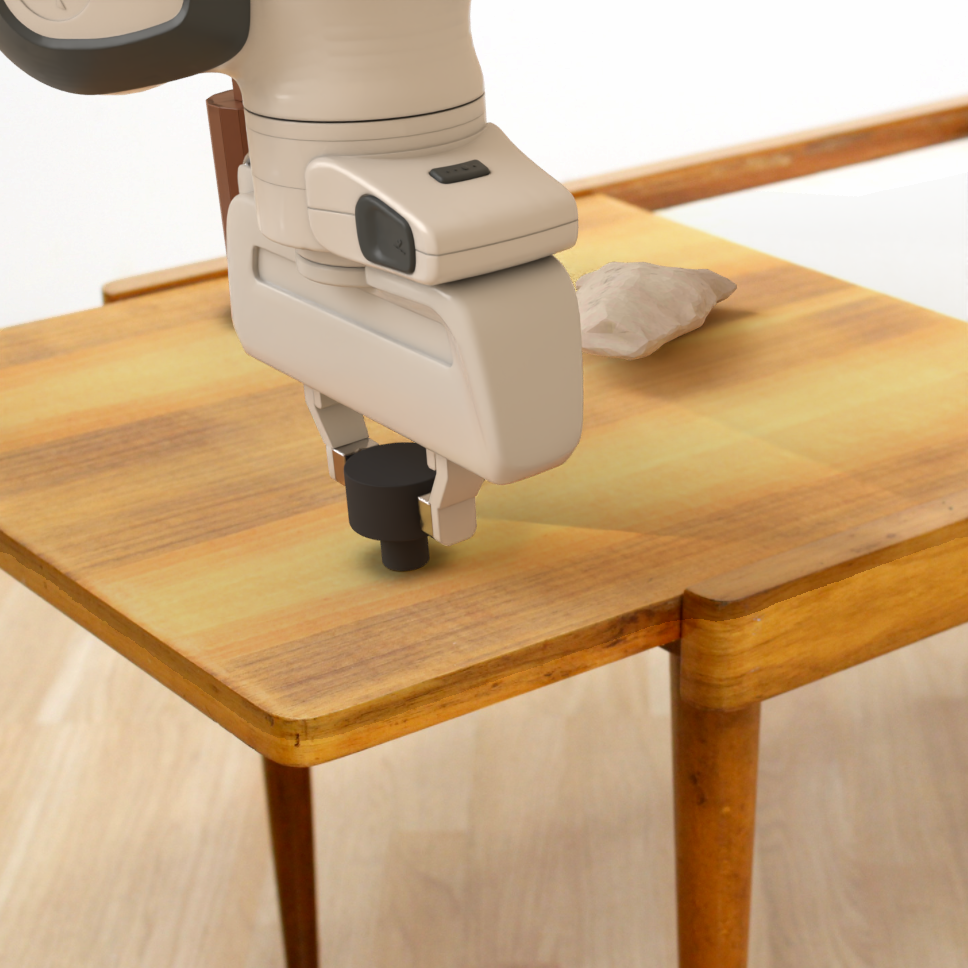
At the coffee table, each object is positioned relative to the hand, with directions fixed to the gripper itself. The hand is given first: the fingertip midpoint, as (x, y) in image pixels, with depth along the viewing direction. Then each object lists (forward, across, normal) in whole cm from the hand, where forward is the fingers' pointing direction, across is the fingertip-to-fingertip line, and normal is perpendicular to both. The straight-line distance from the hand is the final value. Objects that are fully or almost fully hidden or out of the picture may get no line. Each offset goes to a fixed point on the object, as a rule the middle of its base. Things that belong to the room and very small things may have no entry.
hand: (400, 508), depth 64 cm
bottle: (+2, -32, +13) cm, 35 cm away
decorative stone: (+3, -13, +24) cm, 27 cm away
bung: (+2, 0, 0) cm, 2 cm away
